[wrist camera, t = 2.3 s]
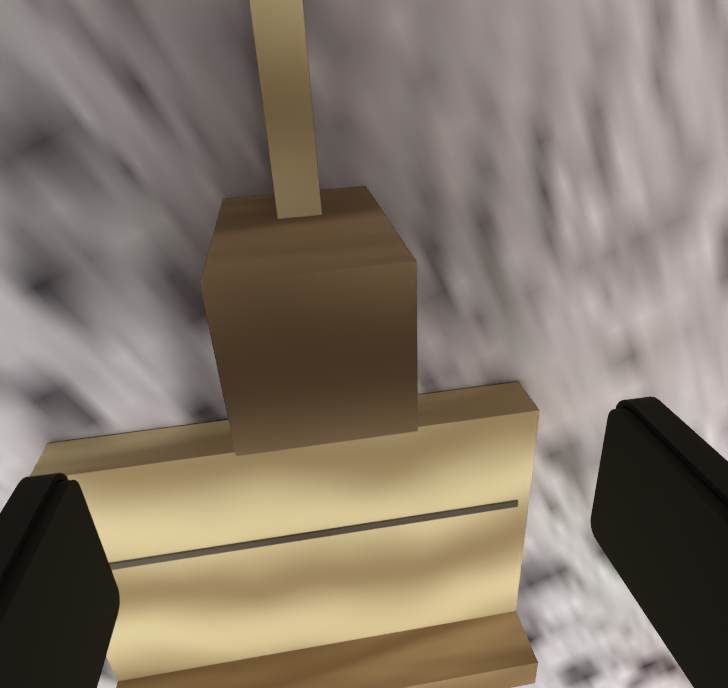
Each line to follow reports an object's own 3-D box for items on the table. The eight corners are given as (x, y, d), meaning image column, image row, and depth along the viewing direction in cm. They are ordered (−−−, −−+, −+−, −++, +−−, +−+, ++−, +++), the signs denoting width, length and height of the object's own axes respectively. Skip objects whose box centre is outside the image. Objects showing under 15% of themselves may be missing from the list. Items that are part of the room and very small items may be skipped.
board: (47, 443, 21) (-4, 538, 17) (518, 381, 23) (571, 453, 19) (135, 658, 27) (113, 763, 23) (498, 595, 29) (534, 683, 25)
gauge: (174, -80, 14) (105, -169, 8) (351, -87, 15) (412, -175, 9) (245, 327, 20) (236, 456, 14) (372, 312, 20) (417, 431, 14)
